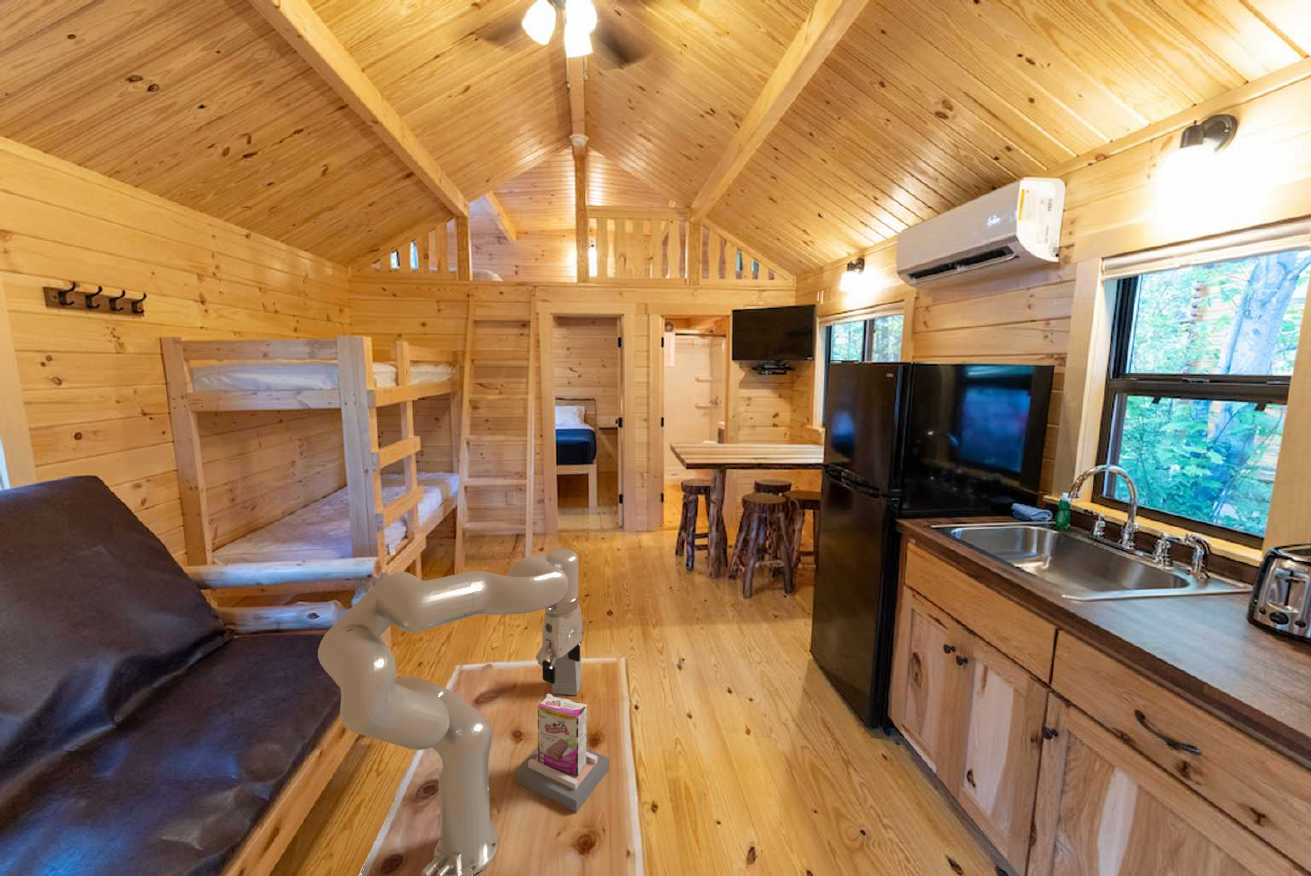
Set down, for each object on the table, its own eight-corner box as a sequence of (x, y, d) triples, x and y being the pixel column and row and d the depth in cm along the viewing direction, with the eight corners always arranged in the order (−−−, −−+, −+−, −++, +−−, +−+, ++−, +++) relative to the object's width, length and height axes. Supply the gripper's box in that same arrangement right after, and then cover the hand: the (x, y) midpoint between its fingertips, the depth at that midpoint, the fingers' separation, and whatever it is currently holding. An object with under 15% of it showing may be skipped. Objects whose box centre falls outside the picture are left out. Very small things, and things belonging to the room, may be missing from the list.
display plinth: (576, 812, 115) (576, 795, 114) (515, 781, 123) (514, 765, 122) (609, 768, 127) (609, 752, 126) (551, 743, 135) (551, 728, 134)
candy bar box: (537, 765, 124) (536, 705, 121) (547, 750, 128) (547, 692, 126) (578, 778, 120) (578, 716, 117) (587, 763, 125) (587, 703, 122)
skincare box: (582, 683, 160) (582, 636, 158) (576, 697, 153) (576, 649, 151) (556, 680, 161) (555, 634, 158) (549, 695, 154) (548, 647, 151)
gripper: (551, 623, 108) (551, 696, 111) (595, 591, 124) (595, 656, 126) (524, 615, 112) (525, 685, 114) (570, 585, 127) (570, 647, 130)
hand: (561, 670), depth 120 cm, fingers open, 9 cm apart
